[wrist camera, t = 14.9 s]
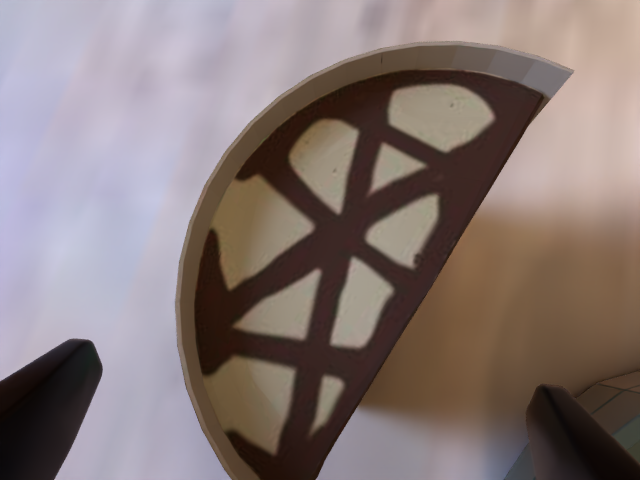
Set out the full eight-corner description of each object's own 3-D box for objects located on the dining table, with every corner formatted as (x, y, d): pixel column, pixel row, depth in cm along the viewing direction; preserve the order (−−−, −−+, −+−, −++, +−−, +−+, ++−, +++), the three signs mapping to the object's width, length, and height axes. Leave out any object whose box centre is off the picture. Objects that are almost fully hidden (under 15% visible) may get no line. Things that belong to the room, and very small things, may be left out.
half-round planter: (350, 126, 20) (350, -62, 10) (465, 192, 19) (585, 51, 9) (199, 349, 19) (31, 375, 9) (316, 433, 18) (274, 569, 8)
